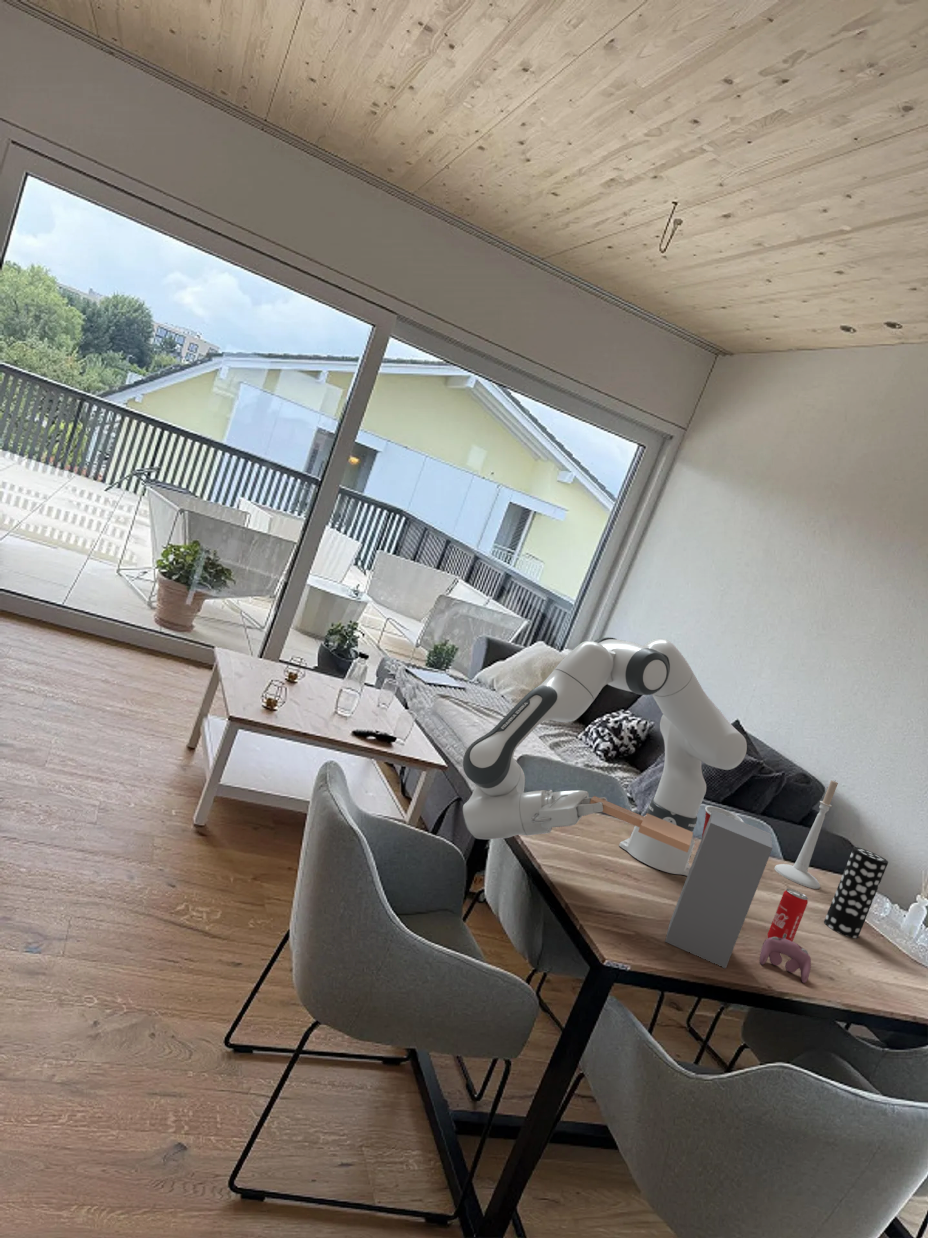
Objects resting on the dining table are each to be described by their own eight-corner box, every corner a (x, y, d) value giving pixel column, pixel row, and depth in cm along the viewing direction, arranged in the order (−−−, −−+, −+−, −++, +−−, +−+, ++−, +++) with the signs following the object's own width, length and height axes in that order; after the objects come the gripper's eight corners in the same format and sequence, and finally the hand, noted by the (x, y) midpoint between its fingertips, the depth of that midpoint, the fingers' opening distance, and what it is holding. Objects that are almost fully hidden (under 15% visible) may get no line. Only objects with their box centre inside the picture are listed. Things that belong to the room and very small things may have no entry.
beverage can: (791, 953, 203) (811, 902, 202) (767, 944, 204) (787, 893, 203) (787, 944, 208) (806, 894, 207) (764, 935, 209) (783, 885, 208)
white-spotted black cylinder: (843, 937, 229) (874, 860, 227) (817, 919, 236) (846, 845, 234) (865, 939, 233) (895, 864, 231) (838, 922, 240) (867, 849, 238)
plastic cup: (685, 846, 262) (700, 806, 261) (697, 842, 271) (712, 803, 270) (721, 864, 256) (737, 823, 255) (733, 860, 265) (748, 820, 264)
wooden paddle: (594, 799, 201) (596, 792, 201) (690, 839, 195) (693, 832, 195) (585, 809, 189) (588, 802, 189) (687, 852, 184) (690, 845, 184)
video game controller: (802, 986, 191) (812, 952, 194) (808, 984, 187) (818, 950, 190) (754, 964, 194) (765, 931, 196) (758, 962, 190) (769, 928, 192)
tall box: (670, 921, 197) (712, 810, 195) (726, 946, 194) (770, 833, 191) (665, 941, 184) (710, 822, 182) (725, 969, 181) (772, 848, 179)
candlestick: (799, 872, 279) (836, 776, 276) (828, 892, 267) (868, 793, 264) (765, 863, 274) (803, 767, 271) (793, 884, 262) (833, 783, 259)
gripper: (525, 806, 188) (594, 797, 185) (546, 789, 208) (608, 781, 204) (531, 838, 188) (600, 830, 184) (551, 818, 208) (613, 810, 204)
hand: (604, 804), depth 194 cm, fingers closed on wooden paddle, 4 cm apart
